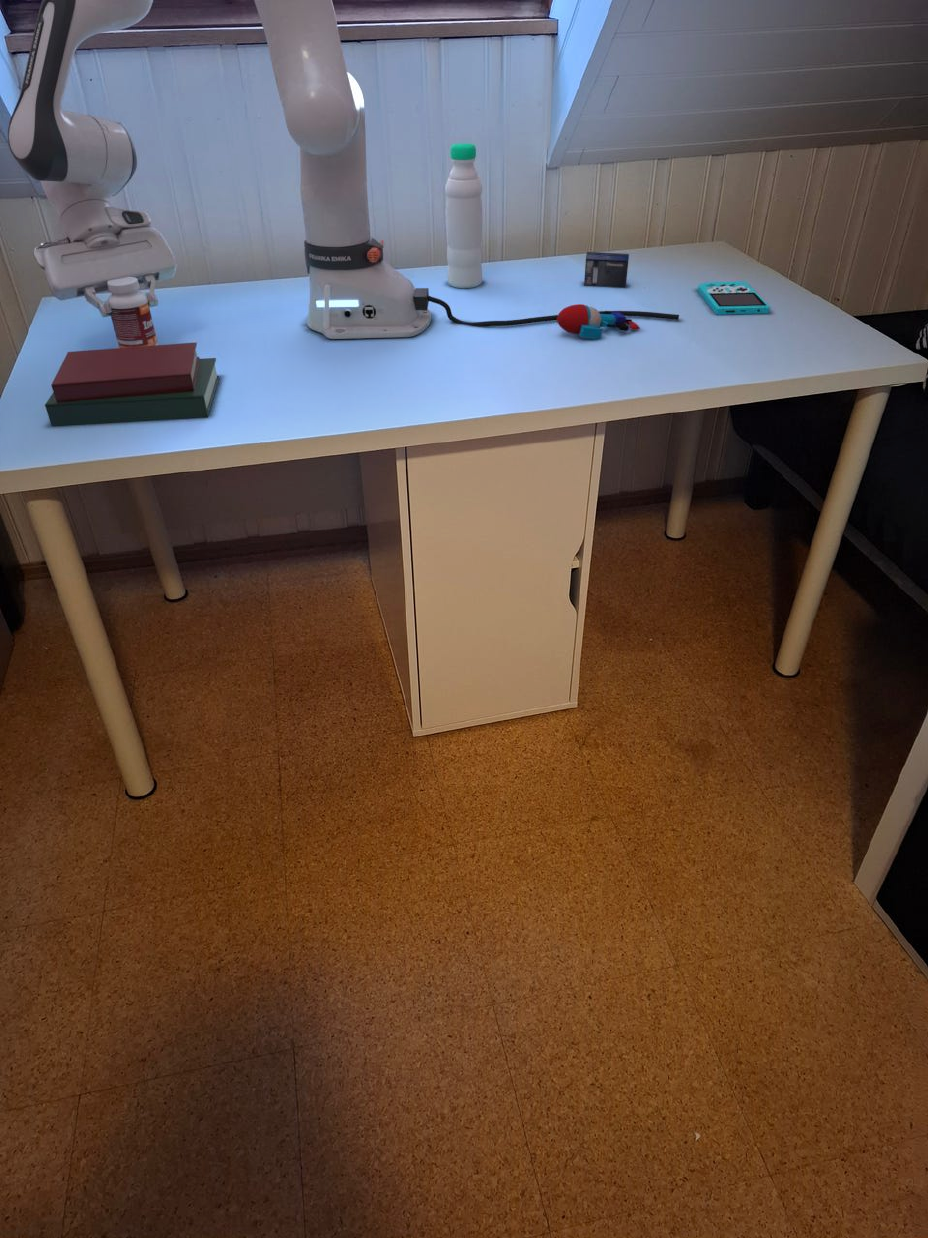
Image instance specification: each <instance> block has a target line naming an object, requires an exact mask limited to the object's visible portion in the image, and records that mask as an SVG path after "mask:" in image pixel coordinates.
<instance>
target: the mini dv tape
mask: <svg viewBox="0 0 928 1238" xmlns="http://www.w3.org/2000/svg"><path fill="white" fill-rule="evenodd" d="M629 259H630V254H629V253H623V252H622V253H619V252H598V251H597V252H596V251H586V254H585V264H584V265H585V267H584V278H583V279H584V281H583V286H585V287H605V288H622V289H623V288H626V287H627V281H628V268H629V261H630V260H629Z"/></svg>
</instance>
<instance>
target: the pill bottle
mask: <svg viewBox="0 0 928 1238" xmlns="http://www.w3.org/2000/svg"><path fill="white" fill-rule="evenodd" d="M107 285H108V289H109V291H108V292H109V293H110V295H109V296H108V298H107V300H106V301H108V302H109V306H110V307H111V309H112V316H110V319H111V322H112V326H113V329H114V333H115V337H116V340H117V345H118V348H128V347H141V346H155V345H159V343H158V339H157V333H156V330H155V326H154V320H153V317H152V313H151V309H150V308H151V307H149V304H148V300H147V297H146V295H145V292H144V293H143V292H142V291H140V288H141V287H140V285H139V283H138V279H137V278H135V277H125V278H119V279H114V280H109V281H108V282H107Z"/></svg>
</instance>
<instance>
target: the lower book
mask: <svg viewBox="0 0 928 1238" xmlns="http://www.w3.org/2000/svg"><path fill="white" fill-rule="evenodd" d="M216 362H217V357H210V358H209V357H207V358H206V357H205V358H200V360H199V366H198V372H197V377H196V383H195V389H194V391H190V392H178V393H166V394H153V395H141V396H129V397H117V398H104V399H92V400H80V401H68V402H56V398H55V395H54V392H53V391H52V394H51V395H50V396H49V398H48V399H47V400H46V402H45V404H44V407H45V410H46V413H47V416H48V419H49V423H50V425H51V427H56V426H57V427H59V426H75V425H92V424H93V425H94V424H107V423H108V424H110V423H127V422H142V421H143V422H145V421H162V420H177V419H179V420H180V419H196V418H208V417H209V414H210V411H211V407H212V404H213V402H214V397H215V394H216V390H217V387H218V384H219V381H220V375H218V374H217V369H216Z"/></svg>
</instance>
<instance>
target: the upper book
mask: <svg viewBox="0 0 928 1238" xmlns="http://www.w3.org/2000/svg"><path fill="white" fill-rule="evenodd" d="M197 344H198V343H197V342H196V341H195V342H185V343H171V344H170V343H169V344H158V345H155V346H141V347H128V348H119V347H116V348H101V349H90V350H89V349H88V350H76V351H74V350H73V351H68V352H67V353H66V355H65V357H64V359H63V361H62V363H61V365H60V367H59V369H58V371H57V372H56V375H55V377H54V379H53V381H52V382H51V389H52V393H53V392H54V395H55V398H56V402H68V401H80V400H92V399H104V398H117V397H129V396H141V395H153V394H166V393H178V392H190V391H194V389H195V383H196V377H197V372H198V366H199V360H200V359H201V358H200V356H198V354H197Z"/></svg>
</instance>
